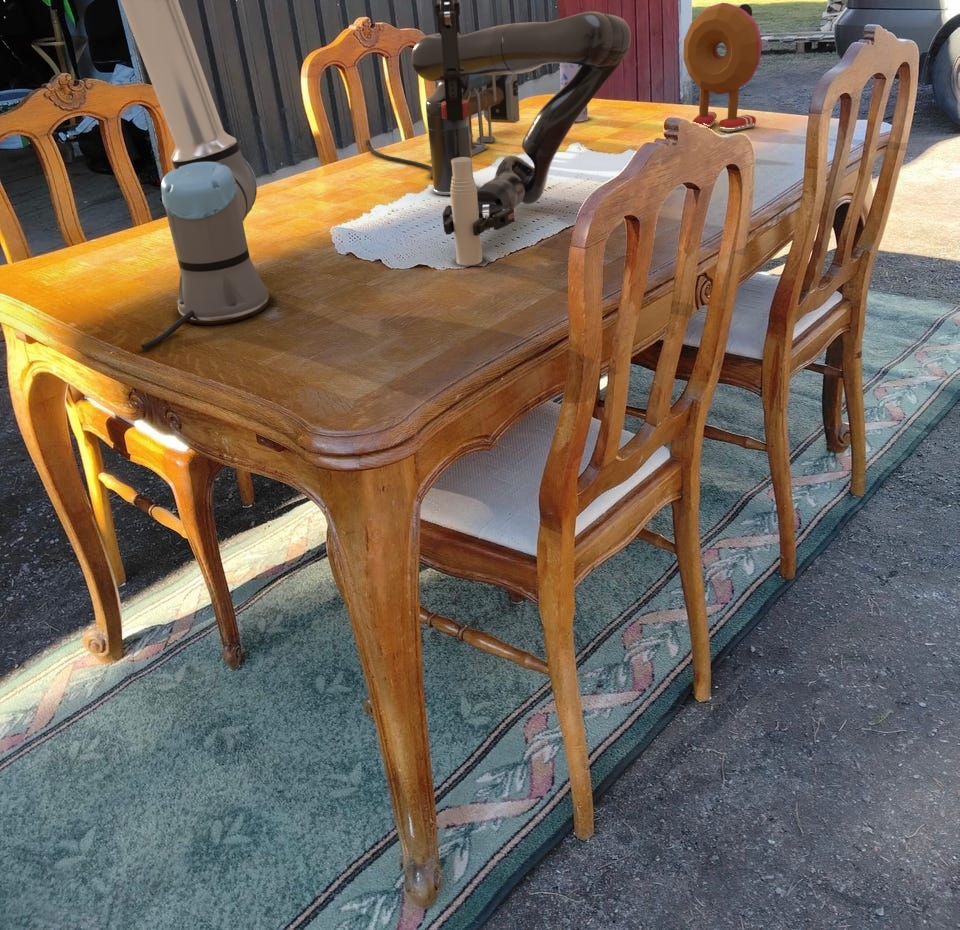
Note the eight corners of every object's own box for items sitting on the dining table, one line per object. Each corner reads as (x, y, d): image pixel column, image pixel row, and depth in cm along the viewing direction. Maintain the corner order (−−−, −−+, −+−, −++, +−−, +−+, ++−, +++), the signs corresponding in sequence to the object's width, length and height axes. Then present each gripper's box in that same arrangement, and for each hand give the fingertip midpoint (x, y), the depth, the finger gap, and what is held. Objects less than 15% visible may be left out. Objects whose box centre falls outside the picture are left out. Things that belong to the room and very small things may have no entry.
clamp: (458, 163, 243) (450, 72, 232) (428, 161, 247) (419, 72, 236) (520, 131, 269) (515, 49, 258) (492, 130, 273) (487, 49, 262)
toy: (766, 126, 252) (776, -1, 237) (746, 134, 246) (755, 5, 231) (696, 119, 265) (700, -1, 250) (675, 127, 259) (678, 4, 244)
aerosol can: (559, 122, 275) (557, 47, 265) (562, 117, 282) (559, 42, 272) (587, 121, 274) (585, 45, 263) (589, 115, 280) (587, 41, 270)
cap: (460, 120, 162) (459, 105, 161) (436, 119, 164) (435, 104, 163) (474, 114, 166) (473, 99, 165) (450, 113, 168) (449, 99, 167)
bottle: (467, 255, 181) (459, 154, 172) (487, 259, 178) (480, 157, 169) (451, 263, 178) (441, 161, 169) (471, 267, 175) (462, 163, 166)
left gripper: (468, -35, 146) (477, 125, 157) (468, -42, 161) (476, 105, 173) (418, -32, 146) (431, 129, 158) (423, -39, 161) (435, 108, 173)
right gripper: (457, 182, 186) (422, 207, 173) (527, 183, 182) (497, 210, 168) (460, 220, 190) (426, 248, 177) (529, 223, 185) (500, 251, 172)
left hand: (455, 116), depth 165 cm, fingers closed on cap, 4 cm apart
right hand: (461, 229), depth 173 cm, fingers closed on bottle, 4 cm apart
